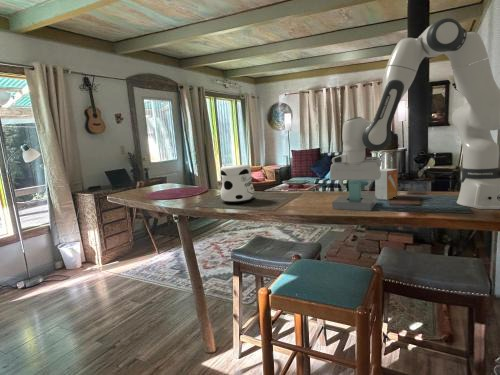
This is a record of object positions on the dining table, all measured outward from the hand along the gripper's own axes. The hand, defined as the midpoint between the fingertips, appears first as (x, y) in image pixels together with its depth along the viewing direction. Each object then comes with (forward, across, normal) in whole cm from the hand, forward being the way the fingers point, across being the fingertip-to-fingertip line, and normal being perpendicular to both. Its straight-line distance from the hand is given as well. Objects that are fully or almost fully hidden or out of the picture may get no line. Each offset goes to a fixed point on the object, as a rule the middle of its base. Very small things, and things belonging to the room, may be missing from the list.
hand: (355, 190), depth 135 cm
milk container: (+7, +58, +1) cm, 59 cm away
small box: (+7, -10, -19) cm, 22 cm away
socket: (+7, 0, 0) cm, 7 cm away
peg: (+7, 0, 0) cm, 7 cm away
